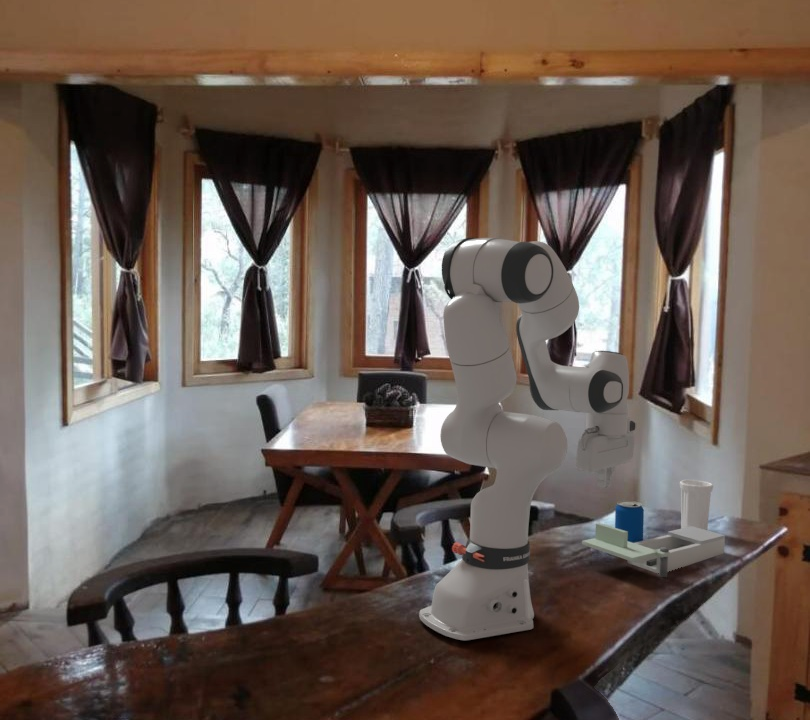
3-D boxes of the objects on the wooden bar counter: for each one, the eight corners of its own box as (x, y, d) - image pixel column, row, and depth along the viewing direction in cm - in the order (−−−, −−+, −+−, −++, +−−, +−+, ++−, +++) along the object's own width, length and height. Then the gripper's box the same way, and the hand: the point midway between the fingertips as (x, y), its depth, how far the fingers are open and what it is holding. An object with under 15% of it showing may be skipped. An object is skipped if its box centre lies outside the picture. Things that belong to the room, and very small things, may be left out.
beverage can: (644, 558, 174) (645, 507, 173) (616, 556, 175) (617, 506, 174) (640, 549, 180) (641, 500, 180) (612, 548, 181) (613, 499, 181)
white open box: (664, 578, 161) (665, 554, 160) (623, 563, 170) (624, 541, 169) (730, 558, 175) (732, 537, 175) (690, 546, 184) (691, 526, 184)
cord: (650, 566, 166) (650, 562, 166) (646, 565, 167) (646, 560, 167) (710, 550, 179) (710, 546, 179) (706, 549, 180) (707, 545, 180)
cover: (670, 555, 161) (671, 535, 161) (638, 563, 155) (639, 543, 155) (613, 537, 174) (614, 519, 174) (581, 544, 168) (582, 525, 168)
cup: (687, 531, 198) (689, 478, 197) (716, 538, 192) (719, 483, 191) (671, 536, 193) (673, 482, 192) (700, 544, 186) (703, 487, 186)
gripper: (596, 430, 153) (594, 497, 154) (640, 422, 168) (637, 482, 169) (569, 427, 157) (567, 491, 158) (614, 419, 172) (612, 478, 173)
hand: (604, 487), depth 164 cm, fingers closed
